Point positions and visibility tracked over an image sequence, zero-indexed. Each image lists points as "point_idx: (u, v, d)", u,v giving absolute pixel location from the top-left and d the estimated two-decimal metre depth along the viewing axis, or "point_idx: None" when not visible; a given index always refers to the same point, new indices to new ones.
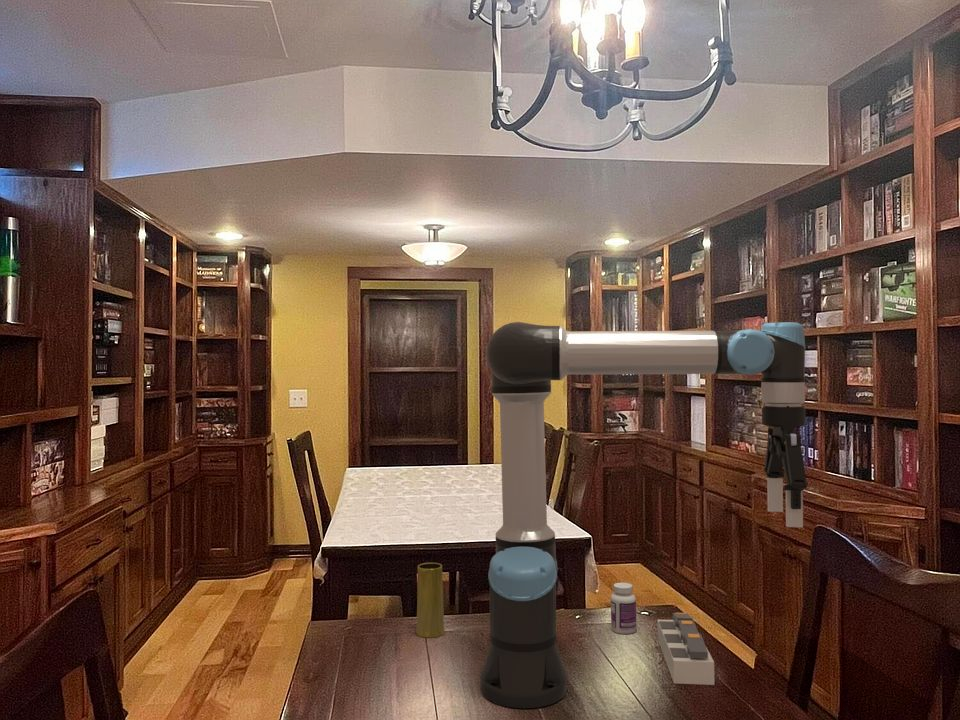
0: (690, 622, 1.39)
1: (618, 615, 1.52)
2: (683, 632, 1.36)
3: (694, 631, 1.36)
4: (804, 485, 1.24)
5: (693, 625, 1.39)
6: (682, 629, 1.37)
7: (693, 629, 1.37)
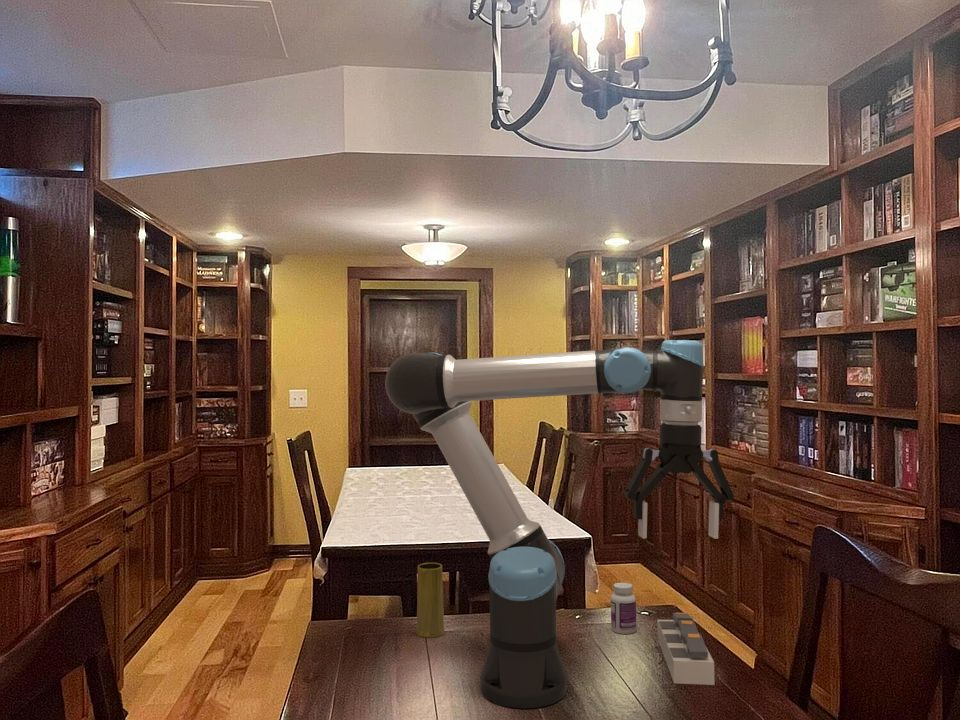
0: (690, 622, 1.39)
1: (618, 615, 1.52)
2: (683, 632, 1.36)
3: (694, 631, 1.36)
4: (627, 495, 1.32)
5: (693, 625, 1.39)
6: (682, 629, 1.37)
7: (693, 629, 1.37)
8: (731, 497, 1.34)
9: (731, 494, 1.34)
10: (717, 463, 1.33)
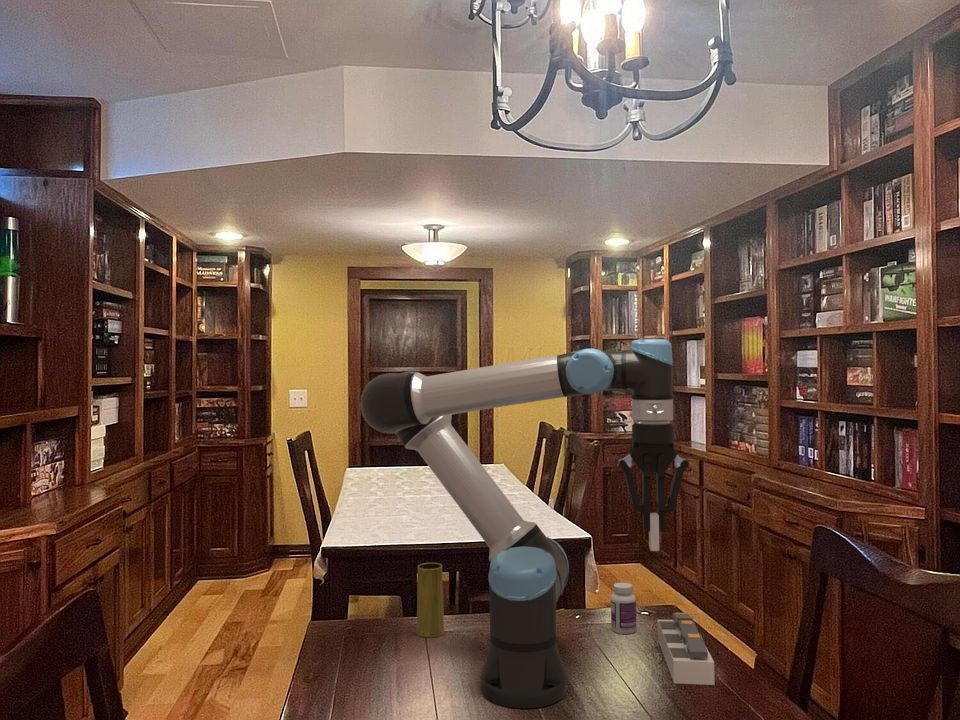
0: (690, 622, 1.39)
1: (618, 615, 1.52)
2: (683, 632, 1.36)
3: (694, 631, 1.36)
4: None
5: (693, 625, 1.39)
6: (682, 629, 1.37)
7: (693, 629, 1.37)
8: (671, 509, 1.32)
9: (673, 507, 1.32)
10: (681, 473, 1.32)
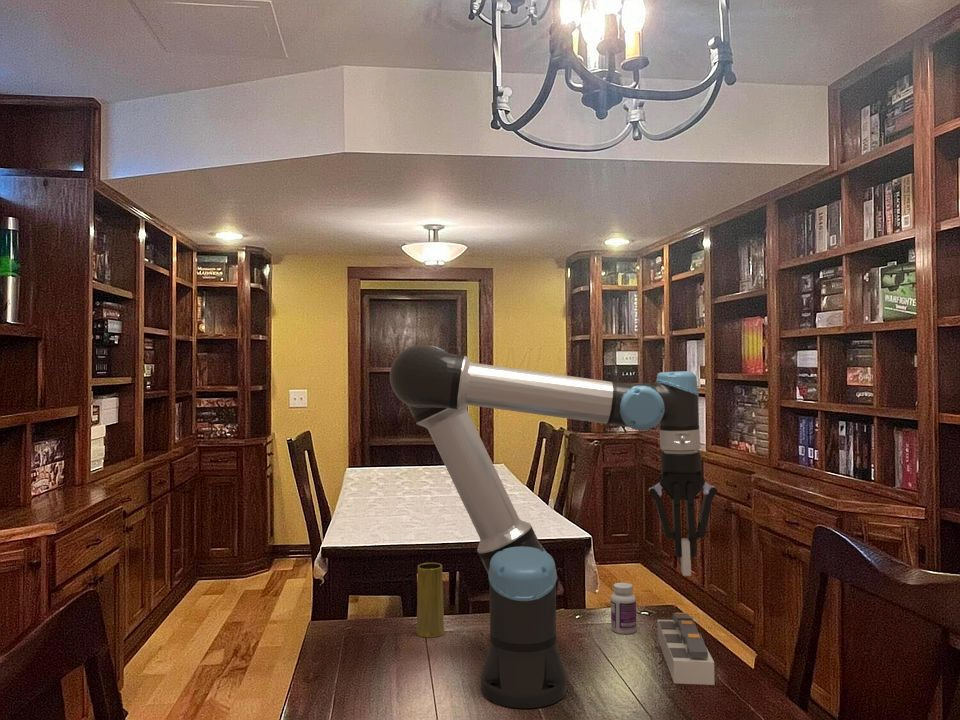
0: (690, 622, 1.39)
1: (618, 615, 1.52)
2: (683, 632, 1.36)
3: (694, 631, 1.36)
4: (666, 536, 1.38)
5: (693, 625, 1.39)
6: (682, 629, 1.37)
7: (693, 629, 1.37)
8: (701, 535, 1.37)
9: (703, 533, 1.37)
10: (710, 500, 1.37)
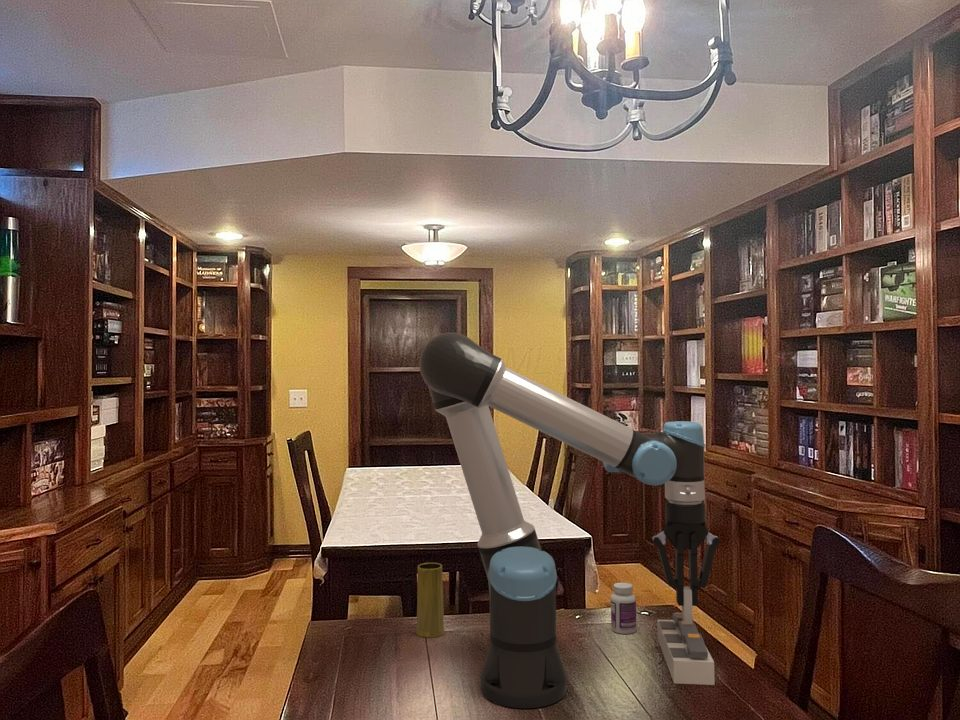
0: None
1: (618, 615, 1.52)
2: (683, 632, 1.36)
3: (694, 631, 1.36)
4: (668, 584, 1.40)
5: (693, 625, 1.39)
6: (682, 629, 1.37)
7: (693, 629, 1.37)
8: (703, 584, 1.39)
9: (705, 582, 1.39)
10: (713, 550, 1.39)
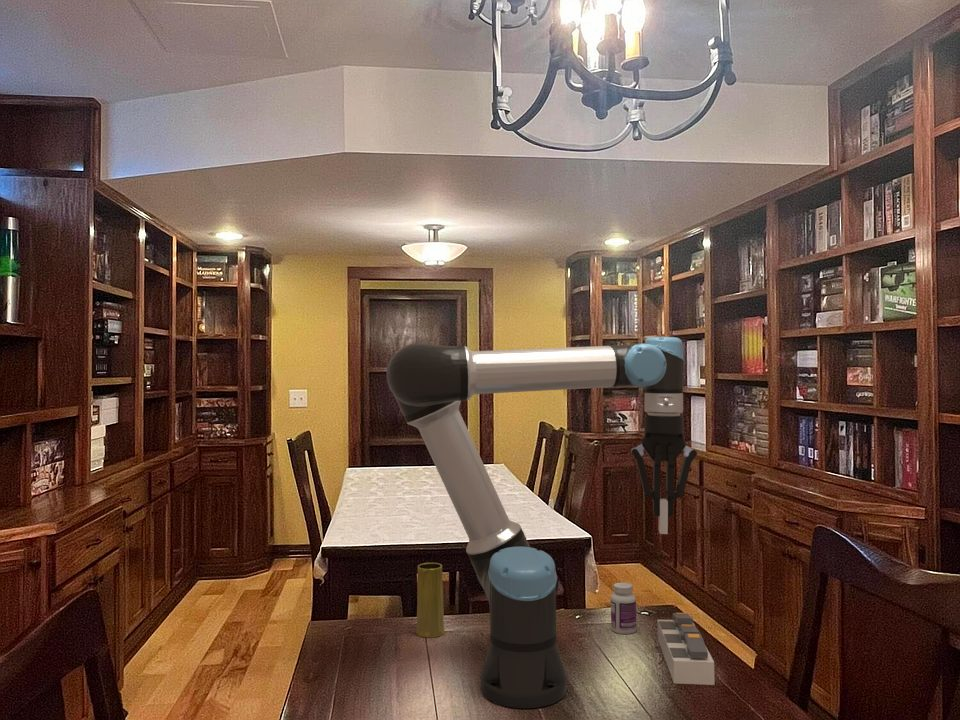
0: (690, 625, 1.40)
1: (618, 615, 1.52)
2: (683, 629, 1.37)
3: (694, 629, 1.37)
4: None
5: (693, 627, 1.39)
6: (682, 628, 1.38)
7: (693, 628, 1.37)
8: (679, 495, 1.42)
9: (681, 493, 1.42)
10: (689, 462, 1.42)
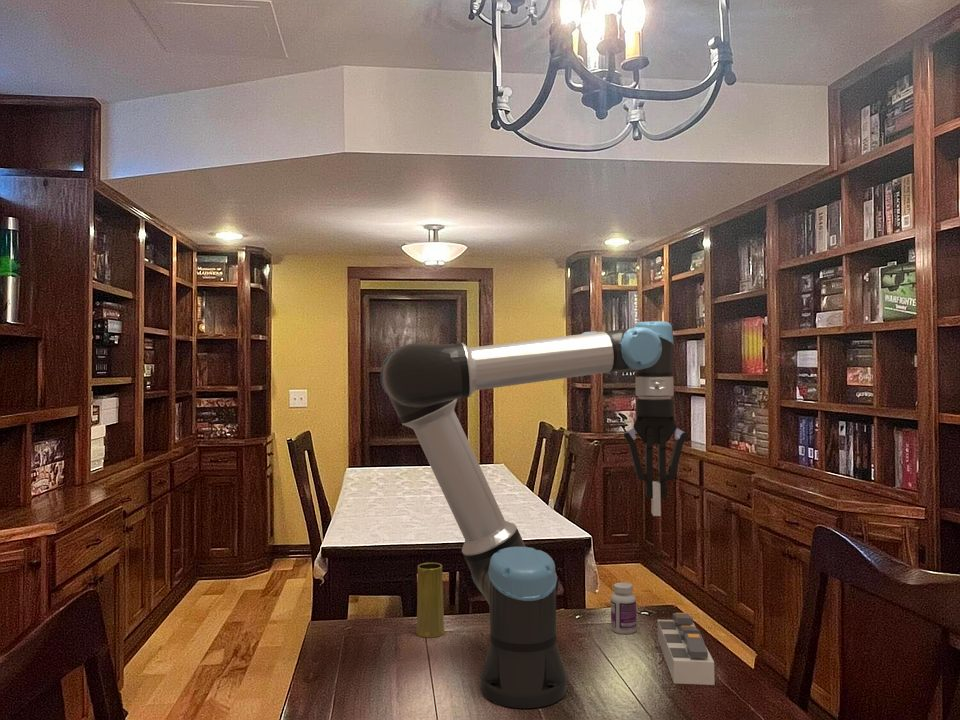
0: (690, 626, 1.40)
1: (618, 615, 1.52)
2: (683, 629, 1.37)
3: (694, 629, 1.37)
4: (638, 478, 1.45)
5: (693, 627, 1.39)
6: (682, 628, 1.38)
7: (693, 628, 1.38)
8: (671, 477, 1.44)
9: (673, 475, 1.44)
10: (680, 444, 1.44)
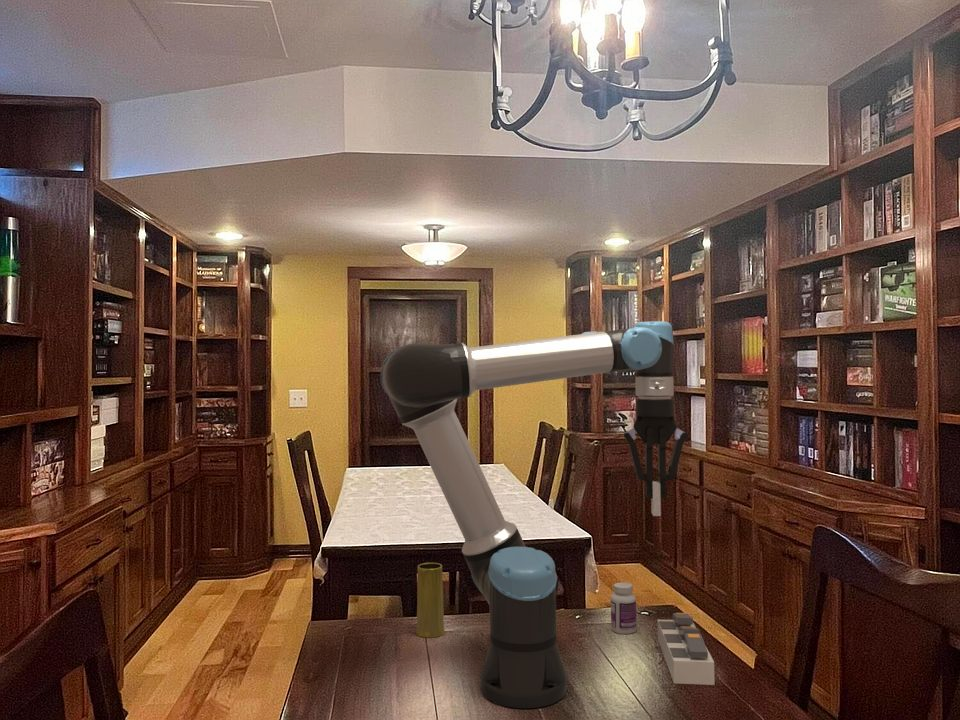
0: None
1: (618, 615, 1.52)
2: (683, 628, 1.37)
3: (694, 628, 1.37)
4: (638, 478, 1.45)
5: (693, 627, 1.39)
6: (682, 628, 1.38)
7: (693, 628, 1.38)
8: (671, 477, 1.44)
9: (673, 475, 1.44)
10: (680, 444, 1.44)
